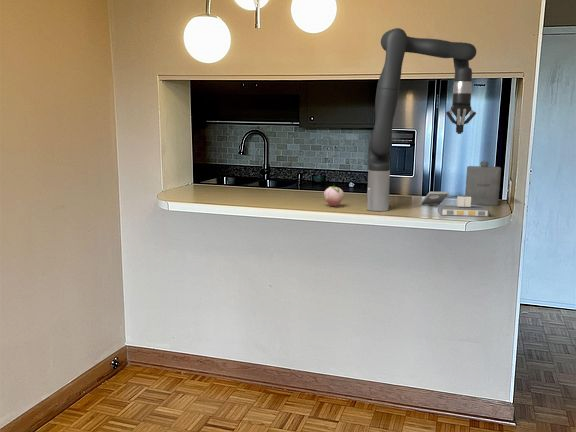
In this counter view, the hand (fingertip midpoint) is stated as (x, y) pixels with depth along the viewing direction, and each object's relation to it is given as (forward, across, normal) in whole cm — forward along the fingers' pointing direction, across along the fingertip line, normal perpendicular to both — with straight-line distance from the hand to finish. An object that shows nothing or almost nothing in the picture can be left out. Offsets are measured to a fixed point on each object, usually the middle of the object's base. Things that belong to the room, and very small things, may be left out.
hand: (459, 133), depth 245 cm
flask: (+33, +15, +16) cm, 40 cm away
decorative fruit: (+33, -53, -3) cm, 63 cm away
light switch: (+33, -8, +5) cm, 35 cm away
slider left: (+29, 0, -13) cm, 32 cm away
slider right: (+29, +3, -13) cm, 32 cm away
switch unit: (+33, +1, -13) cm, 35 cm away
